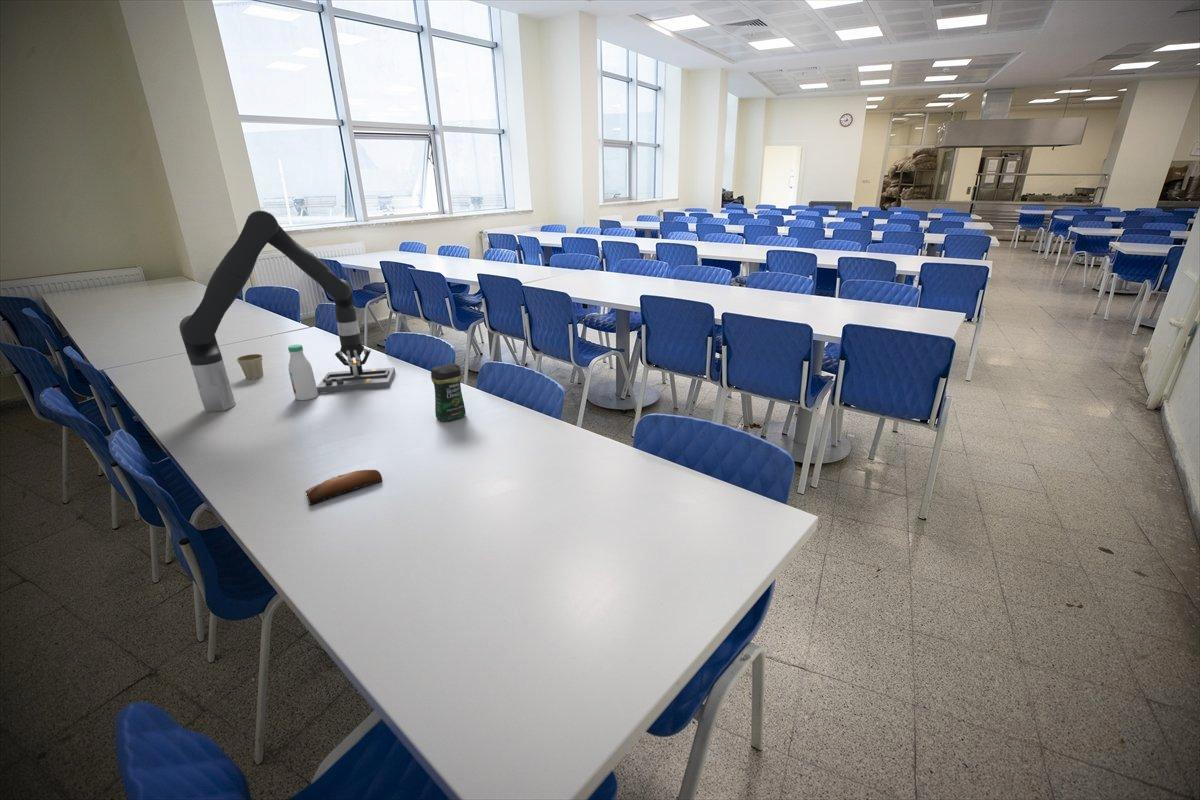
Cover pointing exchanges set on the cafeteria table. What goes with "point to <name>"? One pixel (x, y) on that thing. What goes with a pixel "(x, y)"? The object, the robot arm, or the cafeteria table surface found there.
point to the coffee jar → (448, 392)
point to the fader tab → (355, 368)
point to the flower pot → (251, 365)
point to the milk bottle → (301, 374)
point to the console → (356, 380)
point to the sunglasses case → (342, 484)
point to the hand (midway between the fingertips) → (357, 374)
